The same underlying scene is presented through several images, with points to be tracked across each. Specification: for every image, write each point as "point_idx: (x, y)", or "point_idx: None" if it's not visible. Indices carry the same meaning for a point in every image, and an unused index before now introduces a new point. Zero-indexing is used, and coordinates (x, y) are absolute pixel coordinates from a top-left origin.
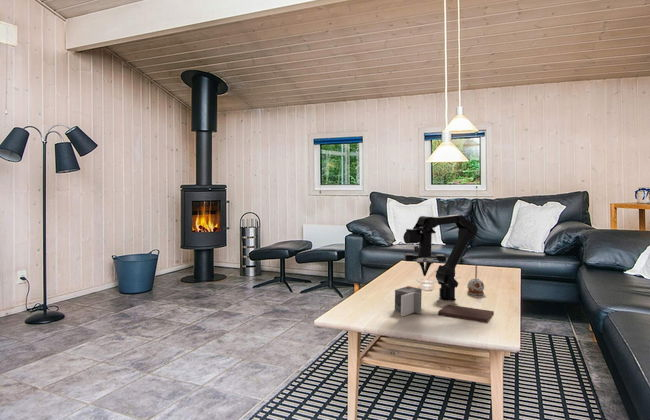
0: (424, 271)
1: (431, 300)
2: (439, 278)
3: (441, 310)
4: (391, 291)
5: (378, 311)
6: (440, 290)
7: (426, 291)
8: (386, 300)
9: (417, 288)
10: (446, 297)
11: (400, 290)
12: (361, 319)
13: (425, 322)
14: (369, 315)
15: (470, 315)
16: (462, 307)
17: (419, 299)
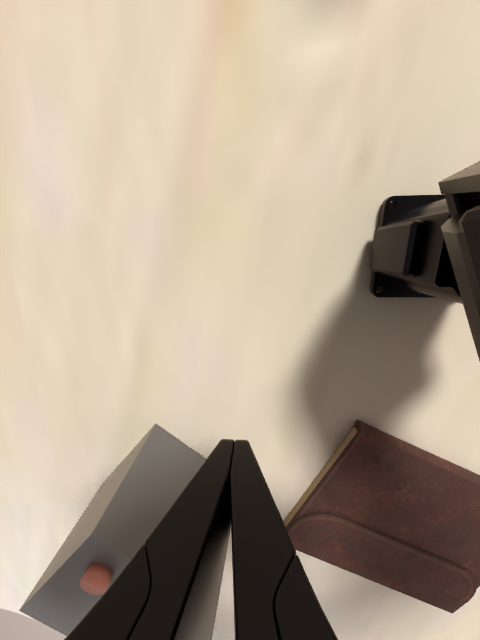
0: (217, 576)
1: (296, 312)
2: (475, 313)
3: (297, 531)
4: (25, 77)
5: (42, 500)
6: (398, 273)
7: (316, 11)
8: (40, 339)
9: None
10: (411, 290)
11: (54, 622)
12: (9, 570)
13: None
14: (22, 538)
15: (403, 580)
16: (423, 476)
17: None
